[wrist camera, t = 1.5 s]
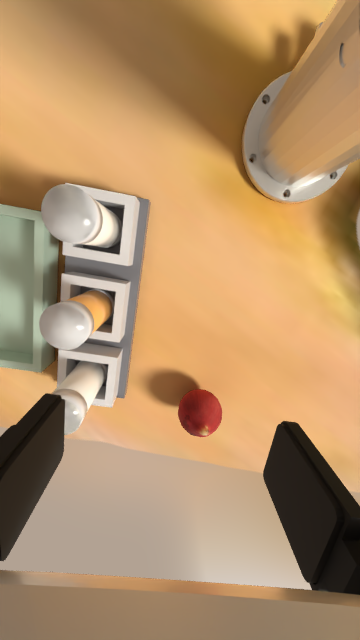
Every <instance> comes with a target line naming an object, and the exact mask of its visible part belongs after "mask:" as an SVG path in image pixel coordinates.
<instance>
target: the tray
mask: <svg viewBox="0 0 360 640" xmlns="http://www.w3.org/2000/svg"><path fill="white" fill-rule="evenodd" d="M58 256H59V239H57V238H56V237H54V236H53V235H52V234H51V233H50V232H49V231H48V229H47V228H46V226H45V224H44V222H43V219H42V214H41V211H36V210H30V209H25V208H20V207H14V206H9V205H3V204H0V367H5V368H12V369H19V370H26V371H34V372H42V371H43V370H44V369H46V368H47V367H48V366H49V365H50V364H51V363H52V362H54V361H55V347H54V346H52V345H50V344H49V343H48V342H47V341H46V340H45V339H44V338H43V336H42V334H41V332H40V328H39V320H40V317H41V314H42V313H43V311H44V310H45V309H46V308H48V307H49V306H51V305H54V304H56V303H57V283H58Z"/></svg>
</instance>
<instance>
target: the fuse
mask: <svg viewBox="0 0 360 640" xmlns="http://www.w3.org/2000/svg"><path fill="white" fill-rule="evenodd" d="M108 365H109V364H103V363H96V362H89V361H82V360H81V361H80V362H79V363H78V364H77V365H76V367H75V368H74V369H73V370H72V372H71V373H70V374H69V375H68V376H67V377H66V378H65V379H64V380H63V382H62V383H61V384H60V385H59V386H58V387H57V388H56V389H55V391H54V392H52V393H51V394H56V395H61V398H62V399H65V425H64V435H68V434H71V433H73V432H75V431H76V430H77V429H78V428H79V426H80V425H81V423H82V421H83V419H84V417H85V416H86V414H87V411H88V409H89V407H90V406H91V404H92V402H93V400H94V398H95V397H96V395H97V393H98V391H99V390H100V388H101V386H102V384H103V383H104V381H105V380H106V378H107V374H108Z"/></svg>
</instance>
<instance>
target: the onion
mask: <svg viewBox="0 0 360 640" xmlns="http://www.w3.org/2000/svg"><path fill="white" fill-rule="evenodd" d="M178 416H179V419H180V422H181V425H182V426H183V428H184V429H185V430H186V431H187V432H188V433H190V434H191V435H194V436H198V437H206V436H209V435H211V434H212V433H213V432H214V431H216V429H217V428H218V426H219V425H220V423H221V419H222V408H221V406H220V403H219V401H218V399H217V398H216V397H215V396H214V395H213V394H212V393H210V392H208V391H206V390H201V389H196V390H192V391H190V392H188V393H187V394H185V395H184V396H183V398H182V400H181V401H180V404H179V410H178Z"/></svg>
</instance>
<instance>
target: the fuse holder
mask: <svg viewBox="0 0 360 640" xmlns="http://www.w3.org/2000/svg"><path fill="white" fill-rule="evenodd" d="M65 184H70V183H65ZM70 185H74V186H76V187H79V188H80V189H82V190H83V191H85V192H86V193H87V194H89V195H90V196H91V197H92V198H94V199H95V200H96V201H97V202H99V203H100V204H101V205H103V206H104V207H106V208H107V209H109V210H110V211H112V212H113V213H115V214H116V215H117V216H118V217H119V218H120V220H121V221H122V223H123V227H122V237H121V241H120V243H119V244H118V245H116V246H114V247H111V248H103V247H98V246H92V245H85V244H74V243H67V242H63V254H62V255H65V273H62V278H61V302H62V301H66V300H68V299H70V298H73V297H75V296H78V295H80V294H83V293H85V292H87V291H89V290H92V289H95V288H97V289H103V290H107V291H109V292H110V293H111V294H112V295H113V297H114V298H115V306H114V314H113V315H112V316H111V317H110V318H109V319H108V320H107V321H105V322H104V323H103V324H102V325H101V326H100V327H99V328H98V329H97V330H96V331H95V332H93V333H92V334H91V336H90V337H89V338H88V339H87V340H86V341H85V342H84V343H83V344H81V345H80V346H79V347H77V348H75V349H70V350H63V349H59V351H58V375H57V387H58V386H59V385H60V384H61V383H62V382H63V380H64V379H65V378H66V377H67V376H68V375H69V374H70V373H71V372H72V370H73V369H74V368H75V367H76V365H77V364H78V363H79V362H80V361H81V360H82V361H89V362H96V363H103V364H109V365H108V374H107V378H106V380H105V381H104V383H103V384H102V386H101V388H100V390H99V391H98V393H97V395H96V397H95V398H94V400H93V402H92V404H91V405H96V406H104V407H111V408H112V407H113V404H114V402H115V399H116V397H118V398H125V395H126V391H127V383H128V375H129V367H130V359H131V352H132V344H133V336H134V328H135V320H136V312H137V305H138V297H139V289H140V281H141V273H142V265H143V258H144V250H145V242H146V234H147V226H148V218H149V210H150V201H149V200H147V199H142V198H137V197H136V196H132V195H126V194H121V193H116V192H111V191H106V190H101V189H95V188H90V187H85V186H80V185H75V184H70Z"/></svg>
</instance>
